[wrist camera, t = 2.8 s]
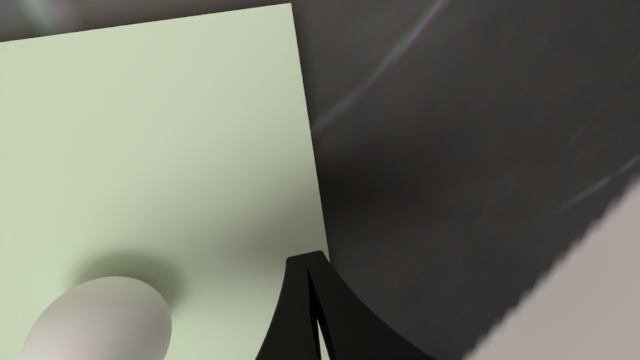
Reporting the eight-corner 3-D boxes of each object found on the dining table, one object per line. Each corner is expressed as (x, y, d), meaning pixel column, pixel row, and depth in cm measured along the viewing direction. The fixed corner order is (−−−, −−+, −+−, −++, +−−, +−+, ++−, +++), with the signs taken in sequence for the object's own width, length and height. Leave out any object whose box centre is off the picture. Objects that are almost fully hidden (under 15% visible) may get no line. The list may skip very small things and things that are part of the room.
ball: (162, 242, 11) (118, 336, 8) (195, 318, 13) (172, 423, 10) (46, 266, 11) (-58, 377, 7) (96, 341, 13) (33, 460, 9)
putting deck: (284, 9, 11) (291, 2, 9) (337, 340, 19) (347, 381, 17) (-562, 126, 9) (-848, 157, 6) (-99, 451, 17) (-154, 516, 14)
